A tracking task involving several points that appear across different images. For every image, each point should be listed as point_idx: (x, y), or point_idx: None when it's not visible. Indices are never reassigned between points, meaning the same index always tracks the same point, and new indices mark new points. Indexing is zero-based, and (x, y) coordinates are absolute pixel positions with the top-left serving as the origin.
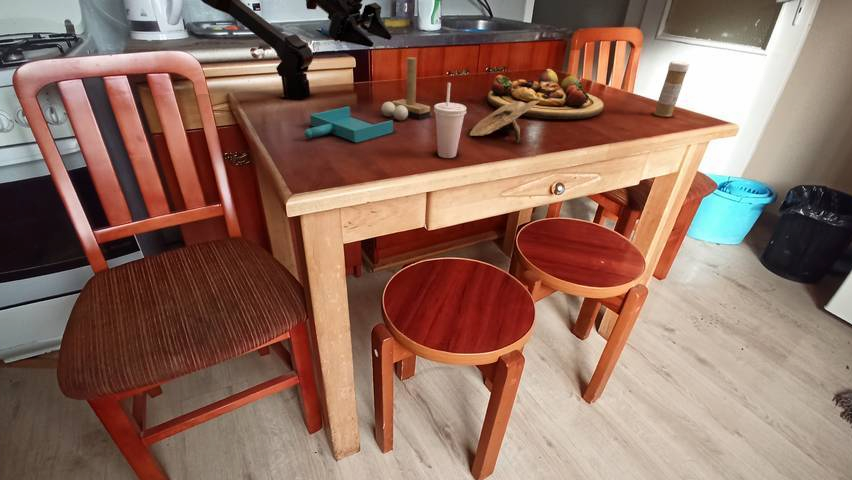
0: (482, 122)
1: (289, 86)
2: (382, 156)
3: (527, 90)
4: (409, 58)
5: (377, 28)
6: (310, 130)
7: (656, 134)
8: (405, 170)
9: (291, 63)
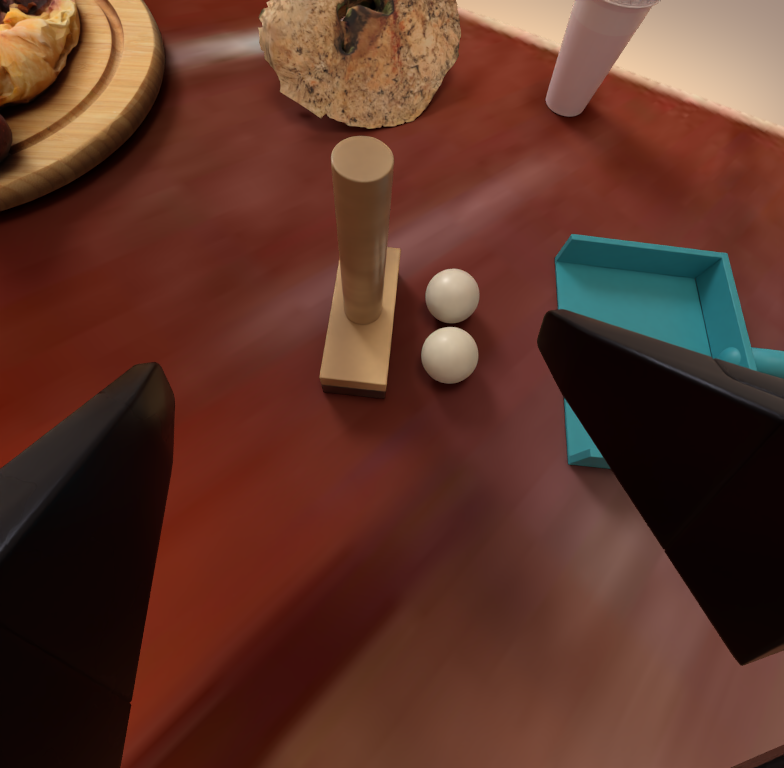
0: (355, 94)
1: None
2: (687, 183)
3: (23, 28)
4: (382, 161)
5: (84, 606)
6: None
7: None
8: (690, 119)
9: None
